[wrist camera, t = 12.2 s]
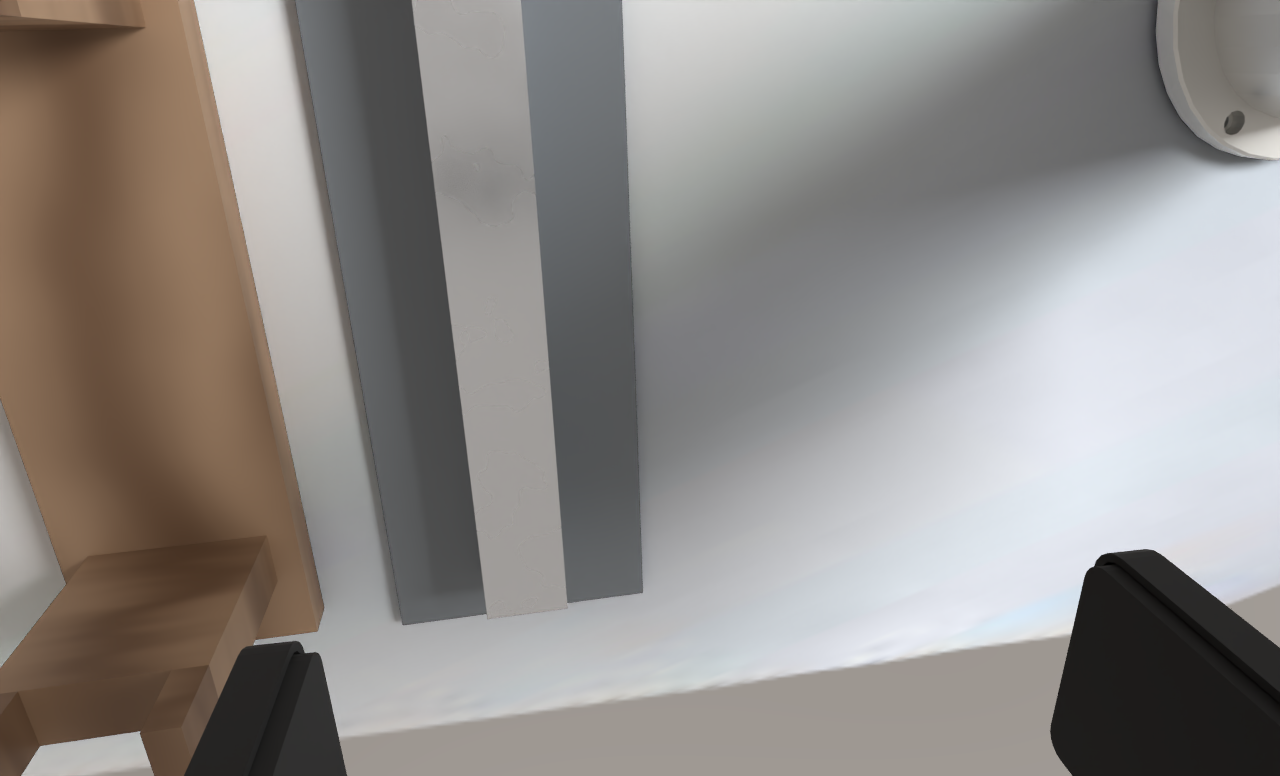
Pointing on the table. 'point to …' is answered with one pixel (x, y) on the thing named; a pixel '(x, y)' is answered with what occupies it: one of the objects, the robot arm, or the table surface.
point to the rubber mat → (418, 300)
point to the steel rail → (495, 291)
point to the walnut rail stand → (136, 384)
